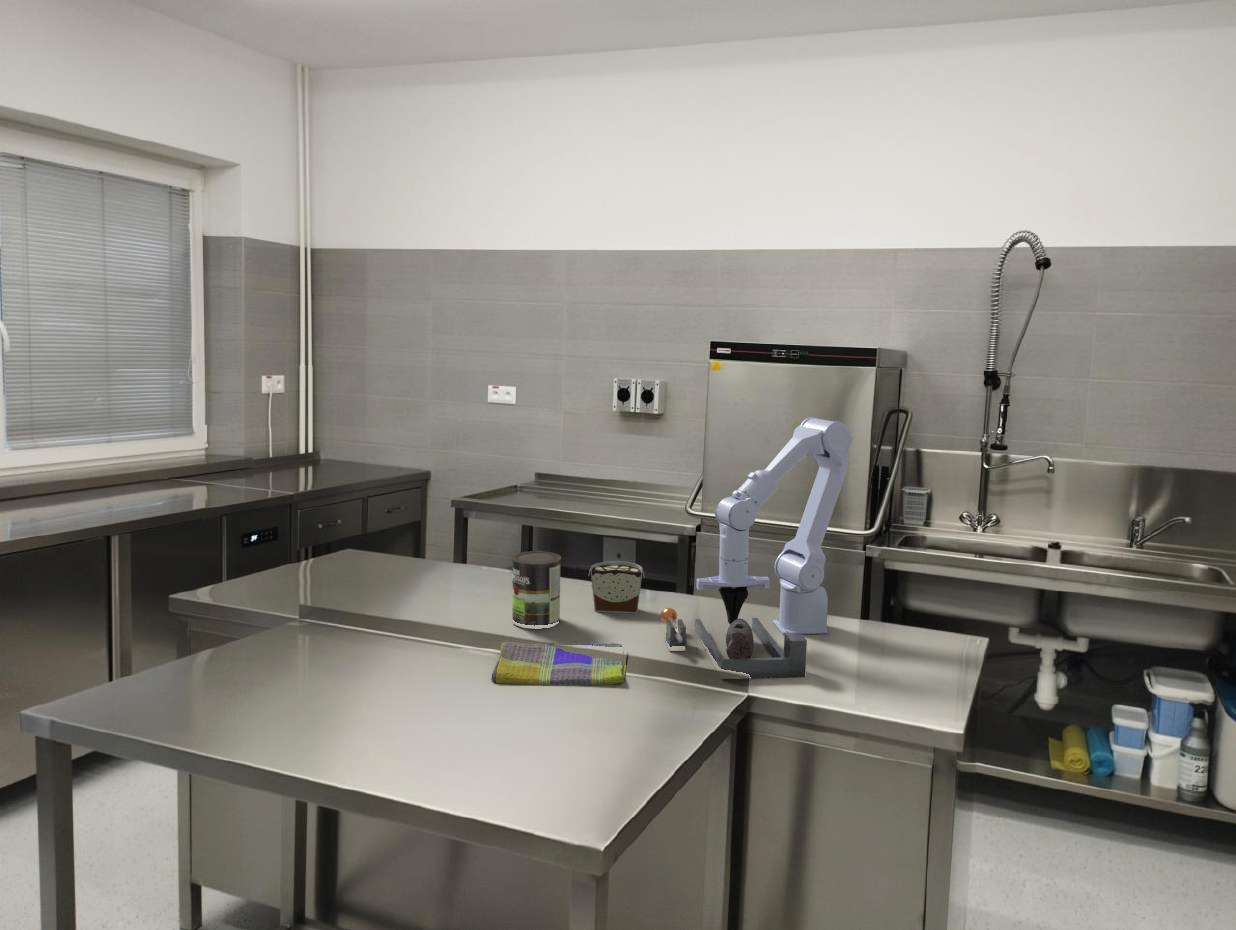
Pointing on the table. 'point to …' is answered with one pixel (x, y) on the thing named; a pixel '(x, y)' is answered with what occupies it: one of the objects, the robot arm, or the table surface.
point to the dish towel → (554, 666)
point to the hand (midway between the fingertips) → (732, 622)
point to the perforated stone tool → (739, 640)
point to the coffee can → (536, 588)
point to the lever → (672, 615)
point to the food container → (616, 586)
